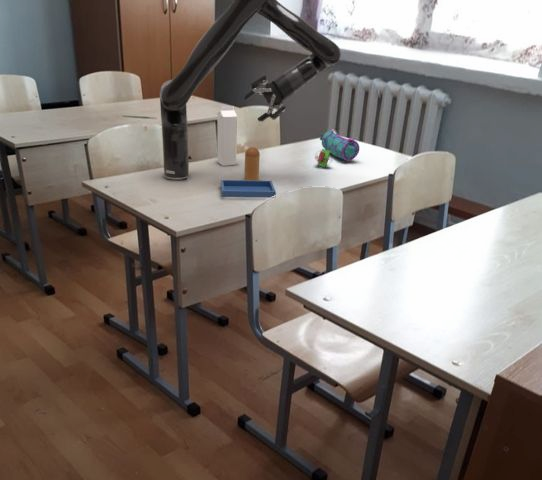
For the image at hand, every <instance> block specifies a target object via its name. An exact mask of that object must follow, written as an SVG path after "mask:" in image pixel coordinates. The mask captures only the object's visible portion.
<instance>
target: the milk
mask: <svg viewBox="0 0 542 480" xmlns="http://www.w3.org/2000/svg"><path fill="white" fill-rule="evenodd" d="M216 119H217V121H216V122H217V124H216V125H217V127H216V128H217V129H216V130H217V131H216V132H217V133H216V134H217V139H216V140H217V141H216V143H217V145H216V147H217V157H216V158H217V160H216V161H217V163H218V164H220V165H221V166H222V167H227V166H237V153H238V152H237V150H238V149H237V145H238V144H237V143H238V142H237V141H238V115H237V112H236V111H235V106H234V105H229V106H228V105H227V106H220V107H219V112H218V113H217V117H216Z"/></svg>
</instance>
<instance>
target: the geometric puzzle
mask: <svg viewBox="0 0 542 480" xmlns="http://www.w3.org/2000/svg"><path fill="white" fill-rule="evenodd" d="M330 157H331V153H330V151H328V150H325V149H324V148H322V149H321V150H320V151H316V152H315V154H314V159H315V160H316V166H319V167H322V168H326V167H327V166H328V165H330V163H329V161H330V162H333V159H330Z"/></svg>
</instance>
